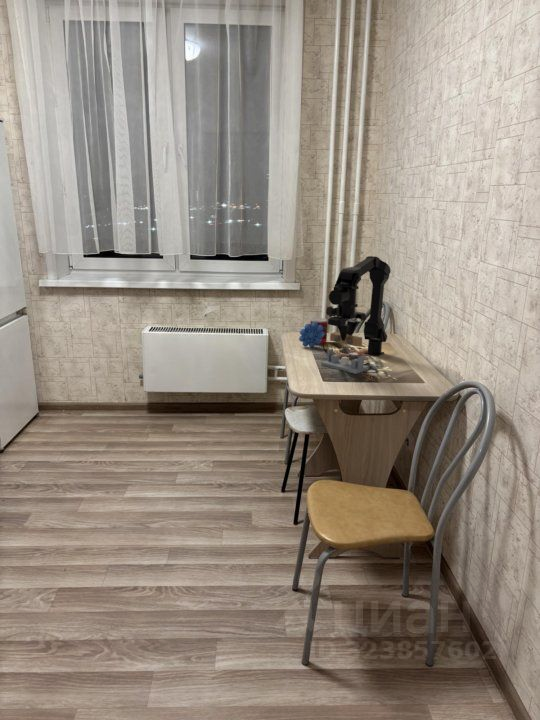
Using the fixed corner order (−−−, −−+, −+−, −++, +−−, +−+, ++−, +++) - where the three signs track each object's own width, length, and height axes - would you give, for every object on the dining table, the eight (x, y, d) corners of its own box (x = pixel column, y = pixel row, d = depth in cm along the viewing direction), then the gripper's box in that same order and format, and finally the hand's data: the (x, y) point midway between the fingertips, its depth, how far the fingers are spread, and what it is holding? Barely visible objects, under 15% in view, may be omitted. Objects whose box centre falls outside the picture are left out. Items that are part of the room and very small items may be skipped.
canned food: (307, 340, 258) (308, 318, 255) (322, 339, 260) (323, 317, 257) (313, 344, 251) (314, 321, 248) (328, 343, 253) (330, 320, 250)
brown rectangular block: (329, 340, 218) (330, 333, 217) (335, 339, 221) (335, 331, 220) (356, 346, 210) (356, 339, 209) (361, 344, 212) (362, 337, 211)
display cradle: (334, 360, 227) (334, 346, 225) (368, 369, 216) (369, 354, 214) (321, 364, 220) (321, 351, 218) (356, 374, 209) (357, 359, 208)
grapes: (324, 345, 250) (325, 320, 246) (323, 349, 243) (324, 323, 240) (299, 344, 251) (300, 319, 248) (298, 348, 245) (299, 322, 241)
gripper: (344, 295, 222) (342, 332, 227) (317, 301, 209) (315, 340, 213) (367, 299, 215) (365, 337, 219) (340, 305, 202) (338, 345, 206)
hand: (346, 339), depth 215 cm, fingers closed on brown rectangular block, 3 cm apart
